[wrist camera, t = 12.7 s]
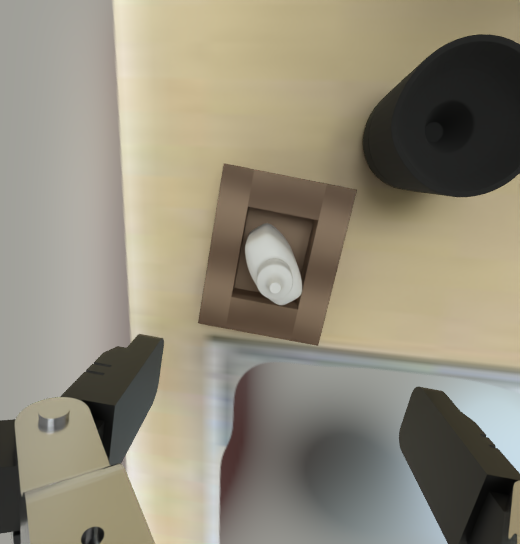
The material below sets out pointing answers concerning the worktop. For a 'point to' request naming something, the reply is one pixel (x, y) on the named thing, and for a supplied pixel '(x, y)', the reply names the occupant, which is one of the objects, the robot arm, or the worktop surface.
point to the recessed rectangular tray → (299, 234)
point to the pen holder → (451, 121)
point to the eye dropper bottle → (273, 265)
